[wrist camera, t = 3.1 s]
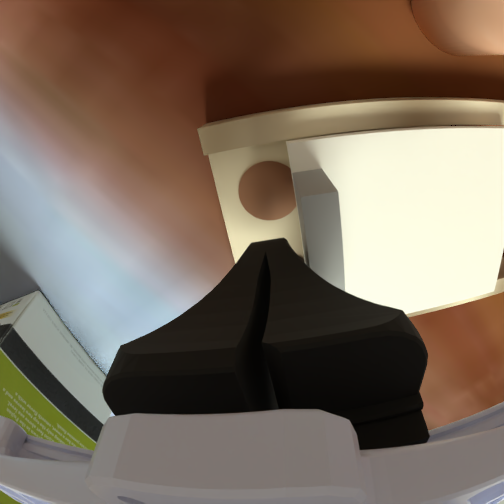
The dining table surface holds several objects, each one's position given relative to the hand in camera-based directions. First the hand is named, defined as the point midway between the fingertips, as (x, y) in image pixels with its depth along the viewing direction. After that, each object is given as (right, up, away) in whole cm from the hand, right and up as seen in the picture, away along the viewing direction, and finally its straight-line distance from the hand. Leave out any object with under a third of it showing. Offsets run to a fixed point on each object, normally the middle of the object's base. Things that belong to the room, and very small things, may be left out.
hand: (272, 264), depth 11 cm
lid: (+6, +1, 0) cm, 6 cm away
